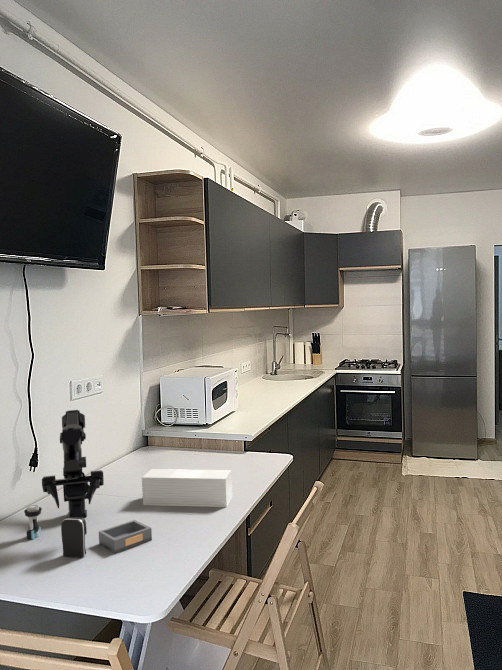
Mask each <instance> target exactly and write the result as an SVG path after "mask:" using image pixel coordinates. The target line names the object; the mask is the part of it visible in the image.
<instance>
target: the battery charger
mask: <svg viewBox="0 0 502 670" xmlns="http://www.w3.org/2000/svg"><path fill="white" fill-rule="evenodd" d="M61 521H62V522H61V523H60V531H61V532H60V533H61V542H62V544H61V545H62V556H63V557H67V558H68V557H69V558H84V557H85V556H86V554H87V549H86V535H87V533H88V531H87V522H86V519H85V517H82V518H81V517H68V516H67V517H66V518H64V519H63V520H61Z"/></svg>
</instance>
